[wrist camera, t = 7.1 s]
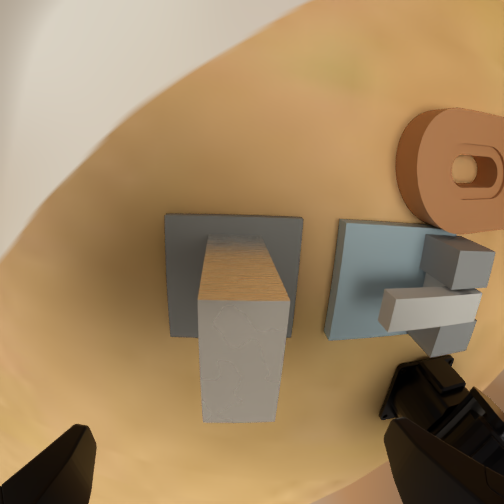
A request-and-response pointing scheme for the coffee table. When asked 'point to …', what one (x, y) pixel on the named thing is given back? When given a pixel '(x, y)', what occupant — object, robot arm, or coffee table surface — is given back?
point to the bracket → (440, 170)
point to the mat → (193, 253)
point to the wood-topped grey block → (240, 330)
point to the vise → (406, 284)
